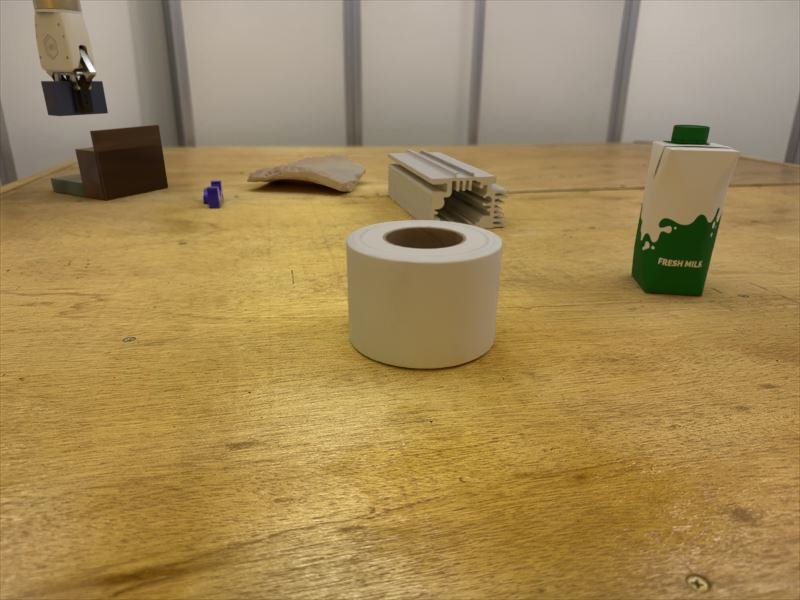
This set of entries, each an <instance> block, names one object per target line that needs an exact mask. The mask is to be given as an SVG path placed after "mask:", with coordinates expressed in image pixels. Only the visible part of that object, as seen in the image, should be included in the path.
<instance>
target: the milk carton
mask: <svg viewBox="0 0 800 600" xmlns="http://www.w3.org/2000/svg"><path fill="white" fill-rule="evenodd" d="M710 130H711V127H710V126H707V125H698V124H675V125H673V127H672V133H671V138H670V140H662V141H660V140H659V141H658V140H654V141H652V144H651V151H650V156H649V163H648V170H647V175H646V180H645V186H644V190H643V197H642V202H641V206H640V212H639V218H638V223H637V229H636V234H635V240H634V245H633V247H634V248H633V254H632V263H631V264H632V265H631V273H630V274H631V276H632V277H633V278H634V279H635V281H636V282H637V283H638V285H639V286H640V287H641V289H642V291H643V292H644V293H650V294H663V295H664V294H665V295H666V294H667V295H668V294H669V295H681V296H683V295H684V296H700V297H702V296H703V293H704V289H705V285H706V281H707V276H708V273H709V269H710V264H711V260H712V257H713V252H714V247H715V244H716V240H717V236H718V231H719V228H720V224H721V220H722V219H721V218H722V216H723V211H724V207H725V203H726V198H727V195H728V191H729V187H730V183H731V180H732V177H733V175H734V171H735V169H736V166H737V162H738V161H739V158H740V155H741V153H742V151H740V150H736V149H734V148H733V147H732V146H728V145H723V144H720V143H716V142H708V140H709V134H710Z"/></svg>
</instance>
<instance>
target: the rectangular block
mask: <svg viewBox="0 0 800 600" xmlns="http://www.w3.org/2000/svg"><path fill="white" fill-rule="evenodd" d="M40 84H41V88H42V94H43V97H44V102H45V107H46V112H47V115H48V116H53V117H68V116H69V117H70V116H85V115H86V116H87V115H103V114H104V115H106V114H109V110H108V105H107V100H106V94H105V89H104V83H103V81H102V80H92V82H91V90H90V93H91V99H92V104H93V109H94V111H93V112H86V113H78V112H77V111H76V107H75V102H74V97H73V92H72V90H75V89H74V86H73V82H72V81H54V80H41V81H40Z"/></svg>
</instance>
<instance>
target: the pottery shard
mask: <svg viewBox="0 0 800 600" xmlns="http://www.w3.org/2000/svg"><path fill="white" fill-rule="evenodd" d="M366 173H367V172H366V167H365V166H364V165H362V164H360V163H358V162H355V161H353V160H351V159H350V157H349V156H348V155H345V154H334V153H331V154H330V155H326V156H325V157H322V156H309V157H305V158H304V159H300V160H297V161H292V162H288V163H285V164H280V165H278V166H269V167H262V168H258V169H256V170H255V171H254V172H253V173H249V176H248V177H247V179H246V182H247V183H274V182H279V181H285V180H297V181H306V182H310V183H314V184H318V185H322V186H325V187H328V188H331V189H333V190H337V191H339V192H352V191H353V190H354V188H355V187H356V186H357V184H358V183H359V182H360V181H361V179H362V177H363V176H364V175H365V174H366Z"/></svg>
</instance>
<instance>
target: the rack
mask: <svg viewBox="0 0 800 600" xmlns="http://www.w3.org/2000/svg"><path fill="white" fill-rule="evenodd" d="M89 134H90V138H91V139H90V140H91V143H92V146H91V147H90V146H89V147H81V148H75V149H74V151H75V156H76V160H77V164H78V165H77V166H78V170H79V173H75V174H69V175H62V176H56V177H51V178H50V182H51V187H52V191H53V192H54V193H60V194H66V195H72V196H78V197H82V198H90V199H95V200H101V201H106V202H107V201H112V200H116V199H120V198H121V199H122V198H126V197H130V196H135V195H140V194H145V193H149V192H150V193H151V192H154V191H159V190H164V189H168V188H169V182H168V177H167V176H168V175H167V171H166V170H167V169H166V163H165V156H164V151H163V144H162V137H161V131H160V125H159V124H149V125H139V126H128V127H117V128H105V129H95V130H90V131H89Z"/></svg>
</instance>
